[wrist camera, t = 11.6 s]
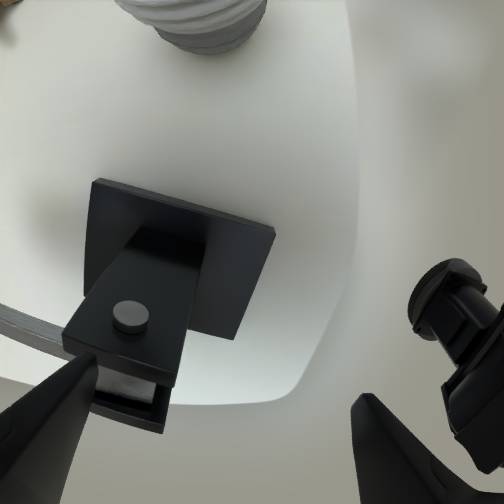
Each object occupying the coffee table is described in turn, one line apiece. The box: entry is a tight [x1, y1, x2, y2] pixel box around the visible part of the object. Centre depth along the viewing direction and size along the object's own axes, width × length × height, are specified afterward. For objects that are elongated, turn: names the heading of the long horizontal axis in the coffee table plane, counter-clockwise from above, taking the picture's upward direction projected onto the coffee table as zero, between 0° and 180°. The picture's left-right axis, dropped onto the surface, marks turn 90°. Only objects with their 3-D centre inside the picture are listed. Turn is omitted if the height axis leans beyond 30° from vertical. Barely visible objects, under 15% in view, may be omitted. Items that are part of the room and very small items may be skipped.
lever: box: [0, 303, 156, 404], centre depth 10 cm, size 13×4×4 cm, turn 71°
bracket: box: [61, 178, 276, 434], centre depth 15 cm, size 12×9×11 cm
